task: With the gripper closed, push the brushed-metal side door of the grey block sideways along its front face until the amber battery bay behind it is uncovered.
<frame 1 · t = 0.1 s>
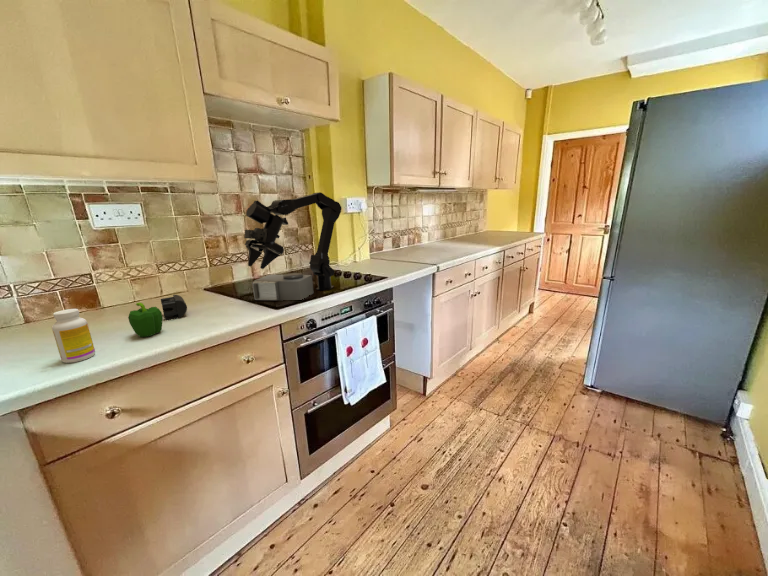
hand: (255, 267, 124), 15 cm above the countertop, tool tilted 30°, fingers open, 9 cm apart
supplement bottle: (79, 358, 86), on the countertop
end cap: (176, 316, 119), on the countertop
side door: (265, 290, 132), point 4 cm above the countertop, slide at 0.0 cm
bell pepper: (150, 334, 102), on the countertop
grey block: (285, 296, 139), on the countertop
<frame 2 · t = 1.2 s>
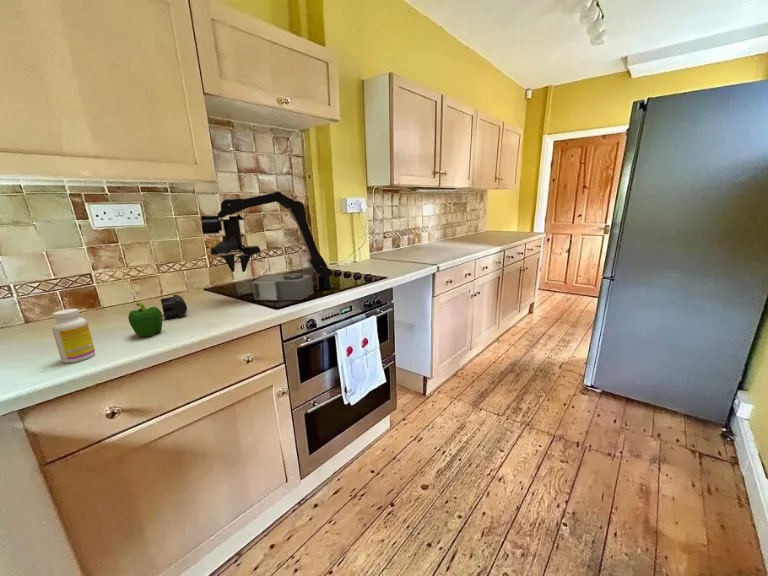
hand: (238, 271, 132), 12 cm above the countertop, tool pointing down, fingers open, 5 cm apart
nothing on the countertop moved.
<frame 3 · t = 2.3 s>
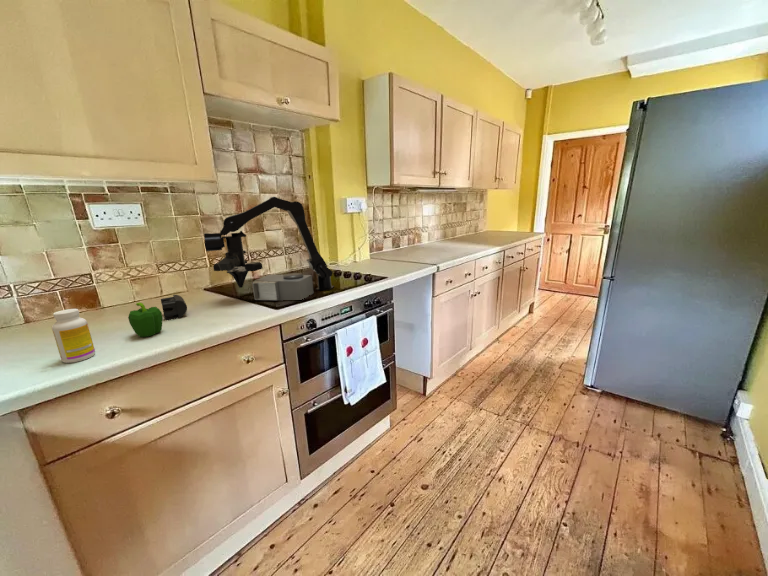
hand: (240, 287, 134), 6 cm above the countertop, tool pointing down, fingers closed
nothing on the countertop moved.
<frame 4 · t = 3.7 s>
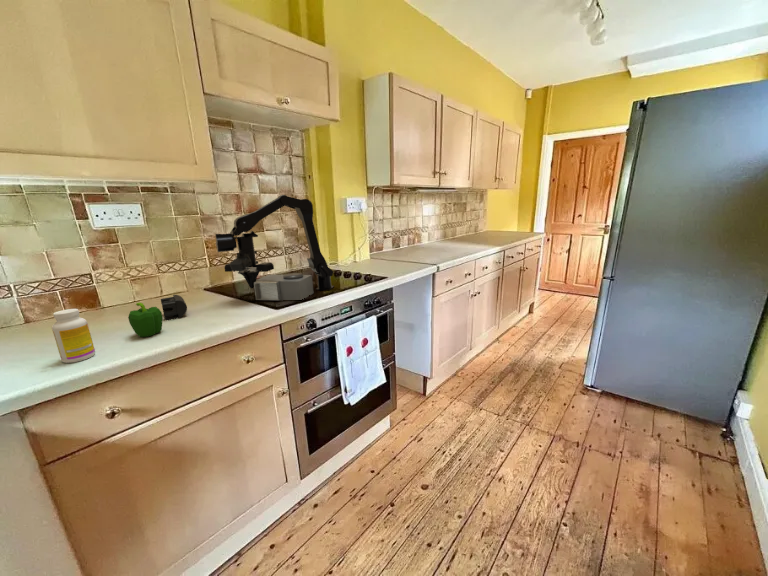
hand: (252, 288, 133), 5 cm above the countertop, tool pointing down, fingers closed
side door: (266, 291, 132), point 4 cm above the countertop, slide at 0.7 cm, touching gripper
everything else where it was.
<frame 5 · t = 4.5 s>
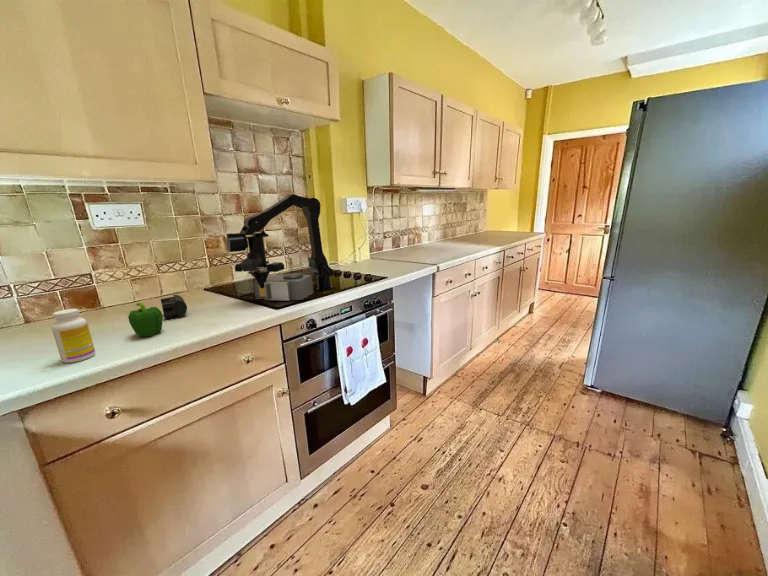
hand: (262, 288, 132), 5 cm above the countertop, tool pointing down, fingers closed
side door: (277, 291, 130), point 4 cm above the countertop, slide at 5.3 cm, touching gripper
everything else where it was.
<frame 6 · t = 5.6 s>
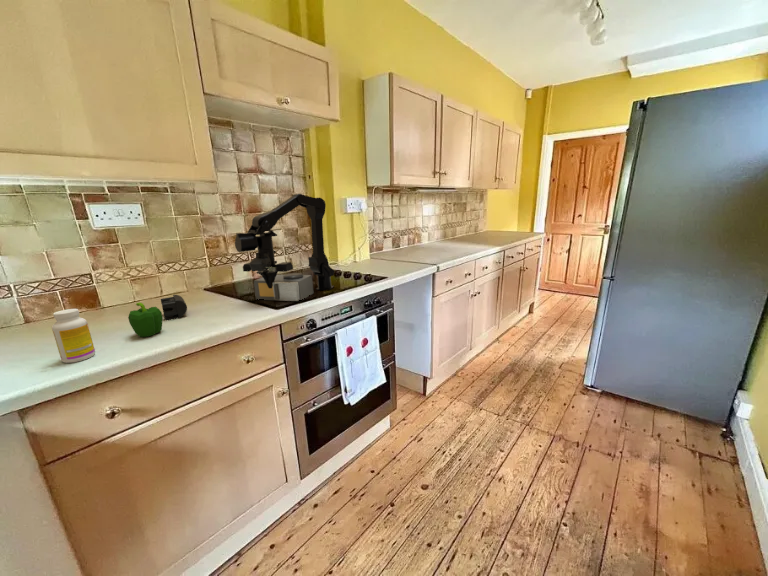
hand: (270, 288, 131), 5 cm above the countertop, tool pointing down, fingers closed
side door: (285, 291, 130), point 4 cm above the countertop, slide at 9.0 cm, touching gripper
everything else where it was.
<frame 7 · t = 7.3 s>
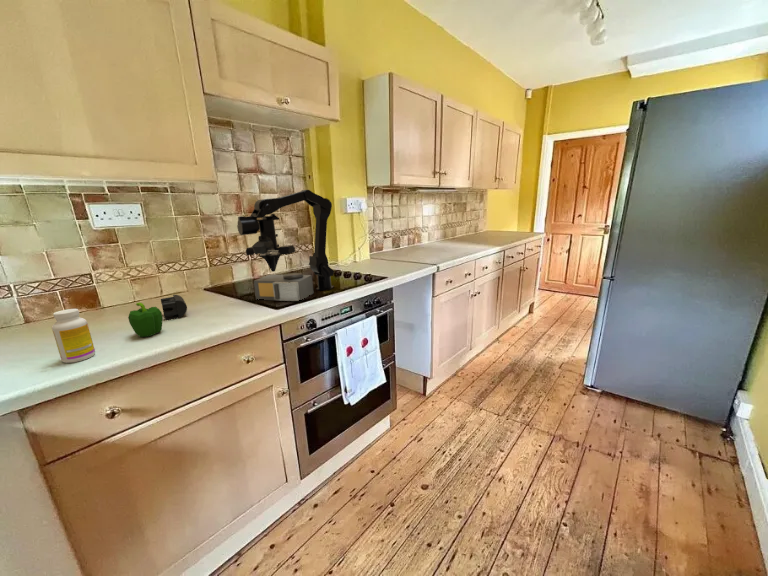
hand: (273, 271, 133), 11 cm above the countertop, tool pointing down, fingers closed
side door: (285, 291, 130), point 4 cm above the countertop, slide at 9.0 cm
everything else where it was.
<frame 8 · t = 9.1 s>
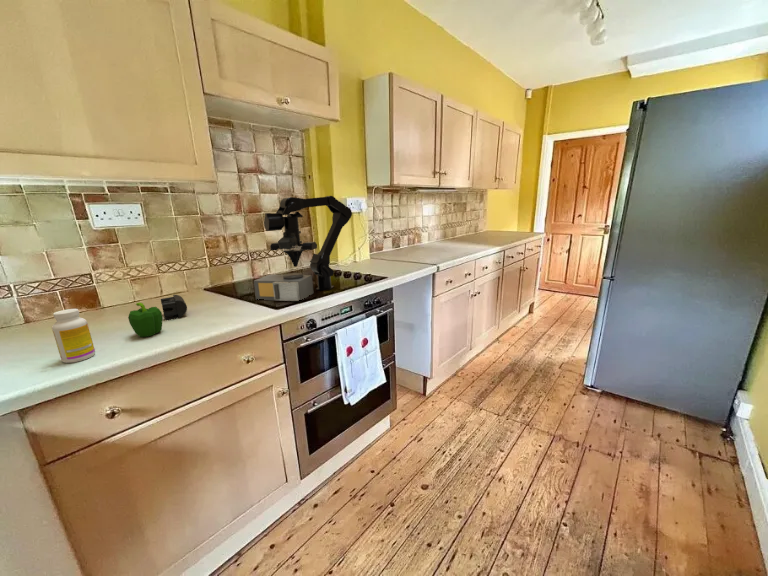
hand: (295, 266, 139), 12 cm above the countertop, tool pointing down, fingers closed
nothing on the countertop moved.
at the end: side door slide at 9.0 cm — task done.
